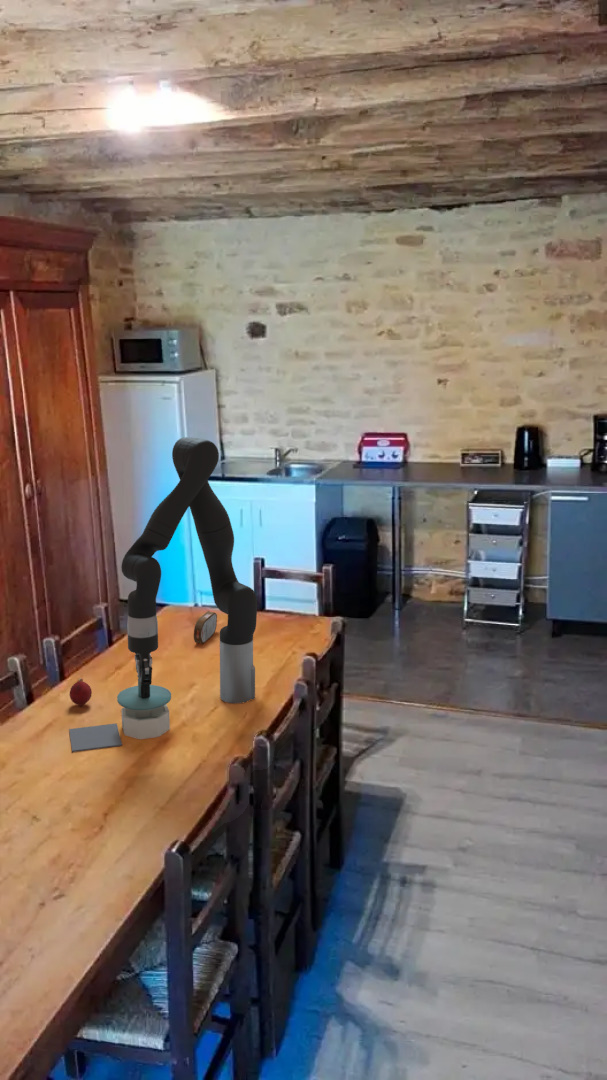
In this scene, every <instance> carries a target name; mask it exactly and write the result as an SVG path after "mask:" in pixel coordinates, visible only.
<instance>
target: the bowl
mask: <svg viewBox="0 0 607 1080" xmlns="http://www.w3.org/2000/svg"><path fill="white" fill-rule="evenodd" d="M120 712H121V727H122V732H123V735H124V736H127V737H130V738H134V739H137V740H145V739H152V738H159V737H161V736H162V735H164V734H165V733H166V732H168V731H169V730H170V729H171V727H170V725H171V724H170V722H171V721H170V720H171V719H170V709H169V707H168V703H167V704H166V705H164V706H162V707H159V708H155V709H149V710H133V709H128V708H125V707H122V708H121V711H120Z"/></svg>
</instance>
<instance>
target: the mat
mask: <svg viewBox="0 0 607 1080" xmlns="http://www.w3.org/2000/svg"><path fill="white" fill-rule="evenodd" d="M68 731H69V737H70V739H69V740H70V746H71V752H72V753H77V752H86V751H93V750H101V749H106V748H107V749H108V748H113V747H115V748H116V747H121V746H123V743H122V740H121V739H122V738H121V735H120V731H119V727H118V723H115V722H114V723H108V724H100V725H93V726H92V725H90V726H84V727H76V728H69V729H68Z"/></svg>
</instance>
